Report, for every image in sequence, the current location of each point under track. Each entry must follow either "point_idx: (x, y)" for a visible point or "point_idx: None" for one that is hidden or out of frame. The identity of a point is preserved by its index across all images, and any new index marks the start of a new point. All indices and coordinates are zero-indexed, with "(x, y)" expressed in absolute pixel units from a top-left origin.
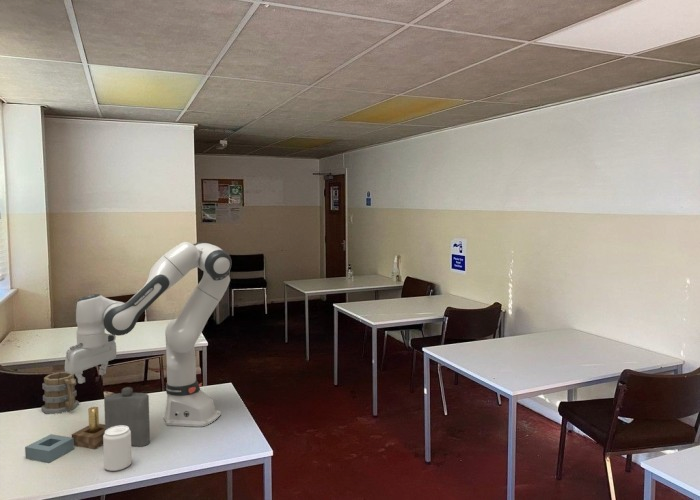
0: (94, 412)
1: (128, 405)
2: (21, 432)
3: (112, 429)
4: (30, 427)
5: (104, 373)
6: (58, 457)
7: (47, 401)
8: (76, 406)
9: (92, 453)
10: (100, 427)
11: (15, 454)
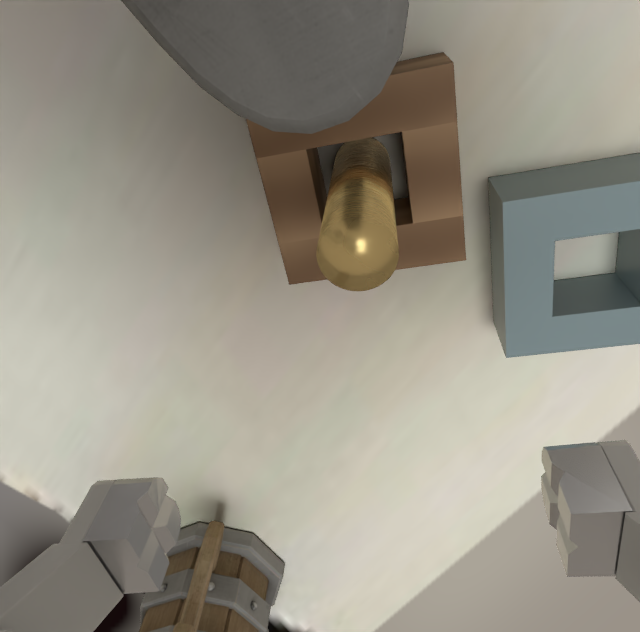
0: (375, 211)
1: None
2: (443, 513)
3: None
4: (395, 521)
5: (117, 484)
6: (606, 159)
7: (268, 612)
8: None
9: (495, 6)
10: (311, 187)
11: (625, 376)
